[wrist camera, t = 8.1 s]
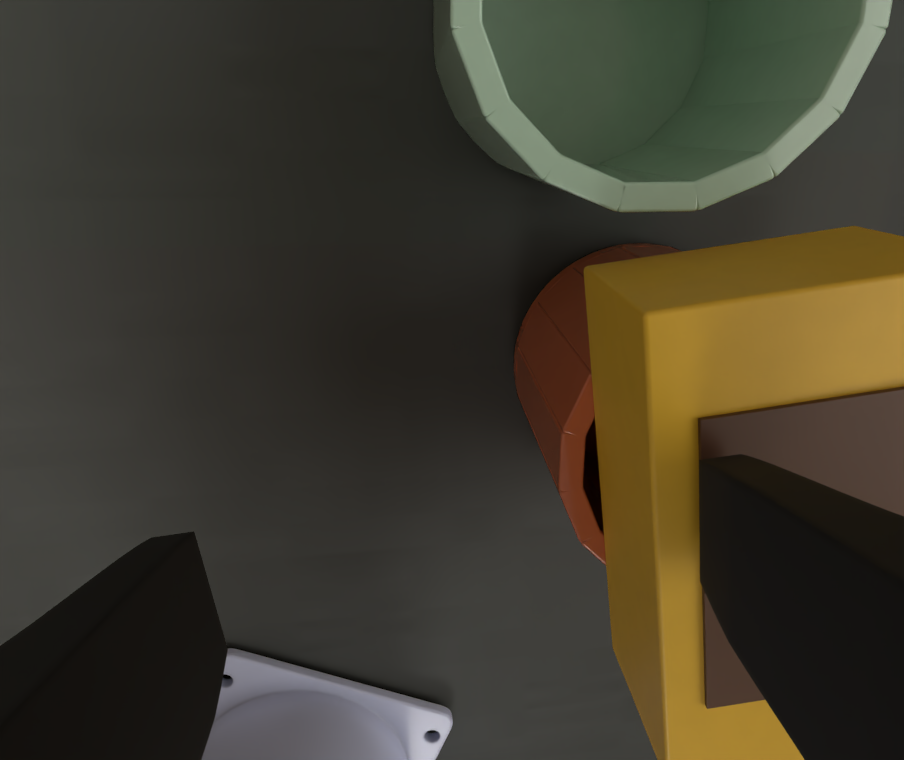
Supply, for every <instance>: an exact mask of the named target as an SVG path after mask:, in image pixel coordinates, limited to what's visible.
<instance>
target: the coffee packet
mask: <svg viewBox="0 0 904 760" xmlns="http://www.w3.org/2000/svg"><path fill="white" fill-rule="evenodd" d="M584 283H585V296H586V309H587V322H588V335H589V348H590V361H591V373H592V386H593V399H594V412H595V425H596V438H597V451H598V464H599V477H600V490H601V503H602V516H603V529H604V542H605V555H606V568H607V581H608V594H609V607H610V620H611V633H612V646H613V650H614V652H615V655H616V657H617V660H618V662H619V665H620V667H621V670H622V672H623V675H624V677H625V680H626V682H627V685H628V687H629V690H630V692H631V695H632V697H633V700H634V702H635V705H636V707H637V709H638V712H639V714H640V717H641V719H642V722H643V724H644V727H645V729H646V732H647V734H648V737H649V739H650V742H651V744H652V747H653V749H654V752H655V754H656V757H657V759H658V760H804V758H803V757H802V755H801V754H800V752H799V750H798V749H797V747H796V746H795V744H794V743H793V741H792V740H791V738H790V737H789V735H788V734H787V732H786V731H785V729H784V727H783V726H782V724H781V723H780V721H779V720H778V718H777V717H776V715H775V714H774V712H773V711H772V709H771V708H770V706H769V705H768V703H767V701H766V700H765V698H764V697H763V695H762V694H761V692H760V691H759V689H758V688H757V686H756V685H755V683H754V681H753V680H752V678H751V677H750V675H749V674H748V672H747V671H746V669H745V667H744V666H743V664H742V663H741V661H740V660H739V658H738V656H737V655H736V653H735V652H734V650H733V648H732V647H731V645H730V644H729V642H728V640H727V638H726V636H725V634H724V632H723V630H722V628H721V626H720V624H719V622H718V620H717V618H716V615H715V613H714V611H713V609H712V607H711V605H710V602H709V600H708V598H707V596H706V594H705V591H704V589H703V587H702V585H701V583H700V533H699V460H703V459H710V458H717V457H724V456H731V455H738V454H743V455H747V456H750V457H754V458H756V459H759V460H762V461H765V462H768V463H771V464H773V465H776V466H778V467H781V468H783V469H786V470H788V471H791V472H793V473H796V474H798V475H801V476H803V477H806V478H808V479H811V480H813V481H815V482H818V483H820V484H823V485H825V486H828V487H830V488H833V489H835V490H837V491H840V492H842V493H845V494H847V495H850V496H852V497H855V498H857V499H860V500H862V501H865V502H867V503H870V504H872V505H875V506H878V507H880V508H883V509H885V510H888V511H891V512H893V513H896V514H899V515H901V516H904V237H903V236H898V235H894V234H889V233H884V232H880V231H875V230H871V229H866V228H861V227H857V226H849V227H843V228H836V229H829V230H823V231H816V232H809V233H803V234H796V235H789V236H783V237H776V238H769V239H763V240H756V241H749V242H743V243H736V244H729V245H723V246H716V247H710V248H703V249H696V250H690V251H683V252H676V253H670V254H663V255H656V256H650V257H643V258H636V259H630V260H623V261H616V262H610V263H603V264H596V265H590V266H586V267H585V268H584Z"/></svg>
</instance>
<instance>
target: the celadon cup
mask: <svg viewBox="0 0 904 760" xmlns="http://www.w3.org/2000/svg"><path fill="white" fill-rule="evenodd" d="M892 1H893V0H434V1H433V9H434V21H433V43H434V62H435V63H436V64H435V67H436V70H437V72H438V76H439V79H440V82H441V85H442V88H443V91H444V94H445V97H446V99H447V101H448V103H449V105H450V107H451V109H452V111H453V113H454V115H455V118H456V120H457V121H458V123H459V124H460V125H461V126H462V128H463V129H464V130H465V131H466V132H467V134H468V135H469V136H470V137H471V138H472V140H473V141H474V142H475V143H476V144H477V145H478V146H479V147H480V148H481V149H483V150H484V151H485V152H486V153H487V154H488V155H489V156H490V157H491V158H492V159H493V160H494V161H495V162H497V163H498V164H499V165H501V166H504V167H506V168H508V169H511V170H513V171H515V172H518V173H520V174H522V175H525V176H527V177H529V178H532V179H534V180H537V181H539V182H541V183H544V184H546V185H548V186H551V187H554V188H556V189H559V190H561V191H564V192H566V193H569V194H571V195H574V196H576V197H579V198H581V199H584V200H586V201H589V202H591V203H594V204H596V205H599V206H602V207H604V208H607V209H609V210H612V211H618V212H691V211H696V210H701V209H704V208H706V207H708V206H711V205H713V204H715V203H718V202H720V201H722V200H725V199H727V198H729V197H732V196H734V195H736V194H739V193H741V192H743V191H746V190H748V189H750V188H753V187H755V186H757V185H760V184H762V183H764V182H767V181H769V180H771V179H772V178H774V177H775V176H778V175H779V174H780V173H781V172H782V171H783V170H784V169H785V168H786V167H787V166H788V165H789V164H790V163H791V162H792V161H793V160H795V159H796V158H797V157H798V156H799V155H800V154H801V153H802V152H803V151H804V150H805V149H806V148H807V147H808V146H809V145H810V144H812V143H813V142H814V141H815V140H816V139H817V138H818V137H819V136H820V135H821V134H822V133H823V132H824V131H825V130H826V129H827V128H829V127H830V126H831V125H832V124H833V123H834V122H835V121H836V120H837V119H838V118H839V117H840V114H842V113H843V111H844V110H845V108H846V106H847V104H848V102H849V100H850V98H851V97H852V95H853V93H854V91H855V89H856V87H857V85H858V84H859V82H860V80H861V78H862V76H863V74H864V72H865V70H866V69H867V67H868V65H869V63H870V61H871V59H872V57H873V56H874V54H875V52H876V50H877V48H878V46H879V44H880V42H881V41H882V39H883V37H884V35H885V33H886V30H885V29H886V28H887V27H888V24H889V18H890V12H891V7H892Z"/></svg>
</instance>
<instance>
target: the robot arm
mask: <svg viewBox="0 0 904 760" xmlns="http://www.w3.org/2000/svg"><path fill="white" fill-rule="evenodd" d="M699 533H700V583H701V585H702V587H703V589H704V591H705V594H706V596H707V598H708V600H709V602H710V605H711V607H712V609H713V611H714V613H715V615H716V618H717V620H718V622H719V624H720V626H721V628H722V630H723V632H724V634H725V636H726V638H727V640H728V642H729V644H730V645H731V647H732V648H733V650H734V652H735V653H736V655H737V656H738V658H739V660H740V661H741V663H742V664H743V666H744V667H745V669H746V671H747V672H748V674H749V675H750V677H751V678H752V680H753V681H754V683H755V685H756V686H757V688H758V689H759V691H760V692H761V694H762V695H763V697H764V698H765V700H766V701H767V703H768V705H769V706H770V708H771V709H772V711H773V712H774V714H775V715H776V717H777V718H778V720H779V721H780V723H781V724H782V726H783V727H784V729H785V731H786V732H787V734H788V735H789V737H790V738H791V740H792V741H793V743H794V744H795V746H796V747H797V749H798V750H799V752H800V754H801V755H802V757H803V758H804V760H904V516H901V515H899V514H896V513H893V512H891V511H888V510H885V509H883V508H880V507H878V506H875V505H872V504H870V503H867V502H865V501H862V500H860V499H857V498H855V497H852V496H850V495H847V494H845V493H842V492H840V491H837V490H835V489H833V488H830V487H828V486H825V485H823V484H820V483H818V482H815V481H813V480H811V479H808V478H806V477H803V476H801V475H798V474H796V473H793V472H791V471H788V470H786V469H783V468H781V467H778V466H776V465H773V464H771V463H768V462H765V461H762V460H759V459H756V458H754V457H750V456H747V455H743V454H738V455H731V456H724V457H717V458H710V459H703V460H699ZM223 674H226V675H229V676H231V678H230V679H225V678H223ZM452 724H453V721H452V714H451V711H450V710H449V709H448V708H447V707H445V706H442V705H439V704H435V703H431V702H428V701H424V700H420V699H417V698H413V697H410V696H406V695H402V694H399V693H395V692H391V691H388V690H384V689H380V688H377V687H373V686H370V685H366V684H362V683H359V682H355V681H351V680H348V679H344V678H341V677H337V676H333V675H330V674H326V673H322V672H319V671H315V670H311V669H308V668H304V667H301V666H297V665H293V664H290V663H286V662H282V661H279V660H275V659H272V658H268V657H264V656H261V655H257V654H253V653H250V652H246V651H243V650H239V649H234V648H228V649H227V645H226V642H225V638H224V635H223V631H222V628H221V624H220V621H219V617H218V614H217V610H216V607H215V603H214V600H213V596H212V593H211V589H210V586H209V582H208V579H207V575H206V572H205V568H204V565H203V561H202V558H201V554H200V551H199V547H198V544H197V540H196V537H195V533H194V532H188V533H181V534H174V535H167V536H160V537H153V538H150V539H148V540H146V541H145V542H143V543H141V544H140V545H138V546H137V547H135V548H133V549H132V550H131V551H129V552H128V553H126V554H125V555H123V556H122V557H121V558H119V559H118V560H116V561H115V562H114V563H112V564H111V565H110V566H108V567H107V568H105V569H104V570H103V571H101V572H100V573H99V574H97V575H96V576H95V577H93V578H92V579H91V580H89V581H88V582H87V583H85V584H84V585H83V586H82V587H80V588H79V589H78V590H76V591H75V592H74V593H72V594H71V595H70V596H68V597H67V598H66V599H64V600H63V601H62V602H60V603H59V604H58V605H56V606H55V607H54V608H52V609H51V610H50V611H48V612H47V613H46V614H44V615H43V616H42V617H40V618H39V619H38V620H36V621H35V622H33V623H32V624H31V625H29V626H28V627H27V628H25V629H24V630H22V631H21V632H20V633H18V634H17V635H15V636H14V637H12V638H11V639H10V640H8V641H7V642H5V643H4V644H2V645H1V646H0V760H436V758H437V756H438V754H439V752H440V750H441V748H442V746H443V744H444V742H445V740H446V738H447V736H448V734H449V732H450V730H451V728H452ZM430 730H435V731H437V732H434V733H428V732H427V731H430Z"/></svg>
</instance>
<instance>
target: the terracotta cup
mask: <svg viewBox="0 0 904 760" xmlns="http://www.w3.org/2000/svg"><path fill="white" fill-rule="evenodd" d="M676 252H683V251H680V250H678V249H676V248H673V247H668V246H662V245H657V244H647V243H633V244H622V245H617V246H613V247H608V248H605V249H602V250H599V251H596V252H593V253H591V254H589V255H587V256H585V257H583V258H581V259H579V260H577V261H575V262H574V263H572V264H571V265H569V266H568V267H566V268H565V269H563V270H562V271H561V272H560V273H559V274H558V275H556V276H555V277H554V278H553V279H552V280H551V281H550V282H549V283H548V284H547V285H546V286H545V287H544V288H543V290H542V291H541V292H540V293H539V295H538V296H537V297H536V299H535V300H534V302H533V303H532V305H531V306H530V308H529V310H528V312H527V314H526V316H525V318H524V320H523V322H522V325H521V328H520V330H519V333H518V337H517V342H516V346H515V354H514V379H515V384H516V391H517V395H518V398H519V400H520V403H521V405H522V407H523V410H524V412H525V414H526V417H527V419H528V422H529V424H530V426H531V429H532V431H533V434H534V436H535V438H536V441H537V443H538V445H539V448H540V450H541V452H542V455H543V457H544V459H545V462H546V464H547V467H548V469H549V471H550V474H551V476H552V478H553V481H554V483H555V485H556V488H557V490H558V493H559V495H560V497H561V500H562V502H563V504H564V507H565V509H566V511H567V514H568V516H569V519H570V521H571V523H572V526H573V528H574V530H575V533H576V535H577V537H578V540H579V541H580V542H581V544H582V545H583V546H584V547H585V548H586V549H587V550H588V551H590V552H591V553H592V554H593V555H594V556H595V557H596V558H598V559H599V560H600V561H601V562H602V563H603V564H604V565H605V566H606V555H605V542H604V529H603V516H602V503H601V490H600V477H599V464H598V451H597V438H596V425H595V412H594V399H593V386H592V373H591V361H590V348H589V335H588V322H587V309H586V296H585V283H584V268H585V267H586V266H590V265H596V264H603V263H610V262H616V261H623V260H630V259H636V258H643V257H650V256H656V255H663V254H670V253H676Z"/></svg>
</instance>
